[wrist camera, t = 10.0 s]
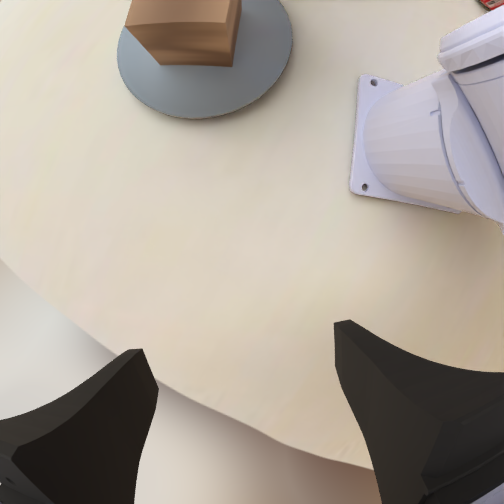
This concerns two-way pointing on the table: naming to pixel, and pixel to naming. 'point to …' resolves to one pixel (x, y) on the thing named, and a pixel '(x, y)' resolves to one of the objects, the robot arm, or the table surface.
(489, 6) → the soda can
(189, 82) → the dish
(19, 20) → the table surface
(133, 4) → the block
